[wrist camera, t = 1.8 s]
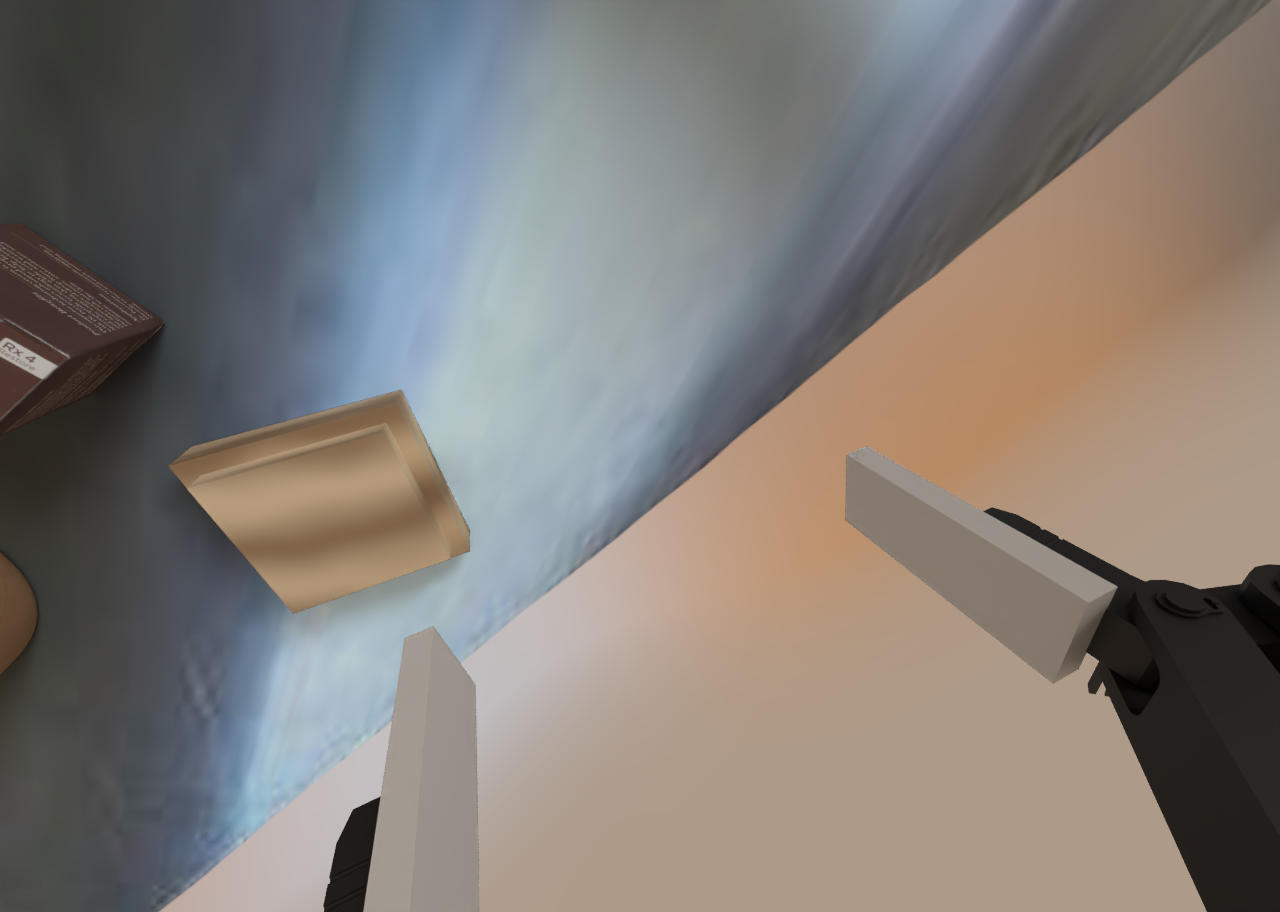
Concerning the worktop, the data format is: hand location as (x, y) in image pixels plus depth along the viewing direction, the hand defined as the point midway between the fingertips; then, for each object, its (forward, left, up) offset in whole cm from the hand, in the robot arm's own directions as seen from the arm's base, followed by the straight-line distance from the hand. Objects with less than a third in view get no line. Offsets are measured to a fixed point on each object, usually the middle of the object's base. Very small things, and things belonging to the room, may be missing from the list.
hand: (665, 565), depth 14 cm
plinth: (+5, -16, -21) cm, 27 cm away
